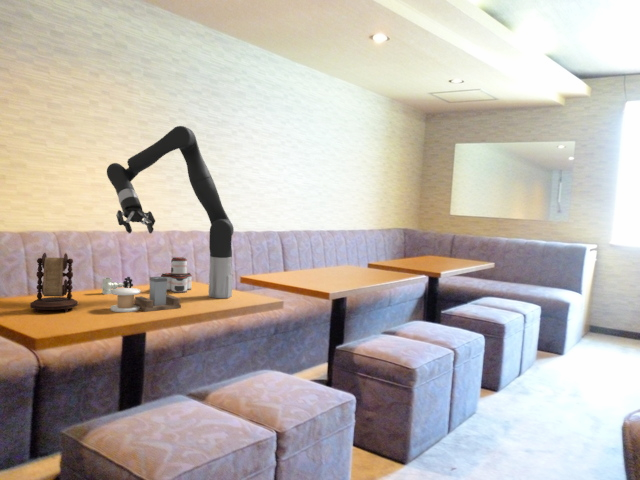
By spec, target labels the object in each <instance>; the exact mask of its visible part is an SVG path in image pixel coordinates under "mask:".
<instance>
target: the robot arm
mask: <svg viewBox="0 0 640 480" xmlns="http://www.w3.org/2000/svg"><path fill="white" fill-rule="evenodd" d="M178 149H179V151H180V153H181V154H182V157H183V159H184V161H185V164H186V168H187V174H188V175H187V176H188V178H189V179H188V180H189V182H190V185H191V187H192V190H193V192H194V194H195V196H196V198H197V199H198V200H197V201H199V203H200V204H201V206H202V207H203V208H204V211H205V213H206V215H207V217H208V219H209V222H210V225H211V226H210V229H209V242H208V243H209V246H208V247H209V271H208V272H209V273H208V274H209V275H208V297H209V298H214V299H229V298H230V297H232V295H233V274H232V261H233V260H232V259H233V248H232V238H233V237H232V236H233V234H234V230H235V229H234V225H233V223H232V221H231V219H230V218H229V216H228V214H227V213H226V211H225V209H224V207H223V204H222V200H221V197H220V195H219V192H218V189H217V187H216V184H215V182H214V178H213V176H212V174H211V173H210V170H209V167H208V165H207V163H205V160H204V159H203V156H202V154H201V151H200V147H199V144H198V141H197V138H196V134H195V132H193V130H192V129H191V128H189V127H187V126H184V125H177V126H175V127H173V128H172V129H171V130H169V132H167V133H166V134H165V135H164V136H163V137H161V138H160V139H159V140H158V141H156V142H154V143H153V144H151V145H150V146H148V147H146V148H145V149H143V150H141V151H139V152H138V153H136V154H134V155H132V156H131V157H129V158H128V159H127V161H126V162H127V163H126V164H127V166H128V167H127V168H125V167H124V166H123V165H122V164H120V163H117V162H113V163H110V164H109V165H108V167H107V169H106V176H107V179H108V180H109V181H110V183H111V185H112V186H113V188H114V189H115V192H116V194H117V198H118V202H119V205H120V208H121V210H120V209H118V210H117V213H116V214H115V215H116V218H117V219H116V220H117V223H118V225H119V226H123V227H124V228H125V231H126V232H127V233H128V234H131V233H132V232H133V228H132V225H131V223H140V224H142V225H145V226H146V228H147V231H148V233H149V234H152V233H153V232H154V226H155V223H156V219H155V217H154V215H153V213H152V212H151V211H148V212H145V211H144V210H143V206H142V204H141V202H140V199H139V196H138V194H137V193H136V191H135V187H134V185H133V183H132V181H133V180H134V179H135V178H136V177H137V176H138V174H139V173H141V172H143V171H144V170H146V169H149V168H150V167H152V166H153V165H154V164H155V163H157V162H159V160H160V159H161V158H163V157H164V156H165V155H167V154H168V153H171V152H173V151H175V150H178ZM124 218H125V219H126V220H125V219H124ZM130 222H131V223H130Z"/></svg>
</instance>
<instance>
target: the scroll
mask: <svg viewBox="0 0 640 480" xmlns="http://www.w3.org/2000/svg"><path fill="white" fill-rule="evenodd" d="M36 262H37V269H36V270H37V271H36V274H35V275H36V277H37V279H38V280H37V282H36V283H37V285H36V289H37V291H36V292H37V295H36V298H37V299H35V300H33V301H32V302H30V306H29V307H30V309H33V312H34V313H35V314H36V313H38V310H40V311H41V310H43V311H56V310H64V312H65V313H67V312H68V311H69V309H73V308H75V307H78V305H79V303H78V301H77V300H76V299H74V298H73V293H72V292H73V291H72V290H73V285H72V284H73V281H72V279H73V277H74V272H73V267H72V266H73V263H74V260H73V258H68V254H67V252H65V253H64V255H63V257H51V256H49V257H48V256H47V253H46V252H43V254H42V256H41V257H39V258H37V260H36ZM66 269H67V272H66V273H65V271H66ZM65 277H67V279H63V278H65ZM63 280H64V281H63ZM64 296H66V297H64Z"/></svg>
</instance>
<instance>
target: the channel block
mask: <svg viewBox="0 0 640 480" xmlns="http://www.w3.org/2000/svg"><path fill="white" fill-rule="evenodd" d="M134 305H137V306H139V307H140V310H139V311H142V312H144V313H147V312H155V311H163V310H174V309H182V305H181V298H180V297H178V296H174V295H172V294H168V293H166V305H157V306H154V305H153V300H150V299H149V298H147V297H144V296H140V295H139V296H134Z"/></svg>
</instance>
